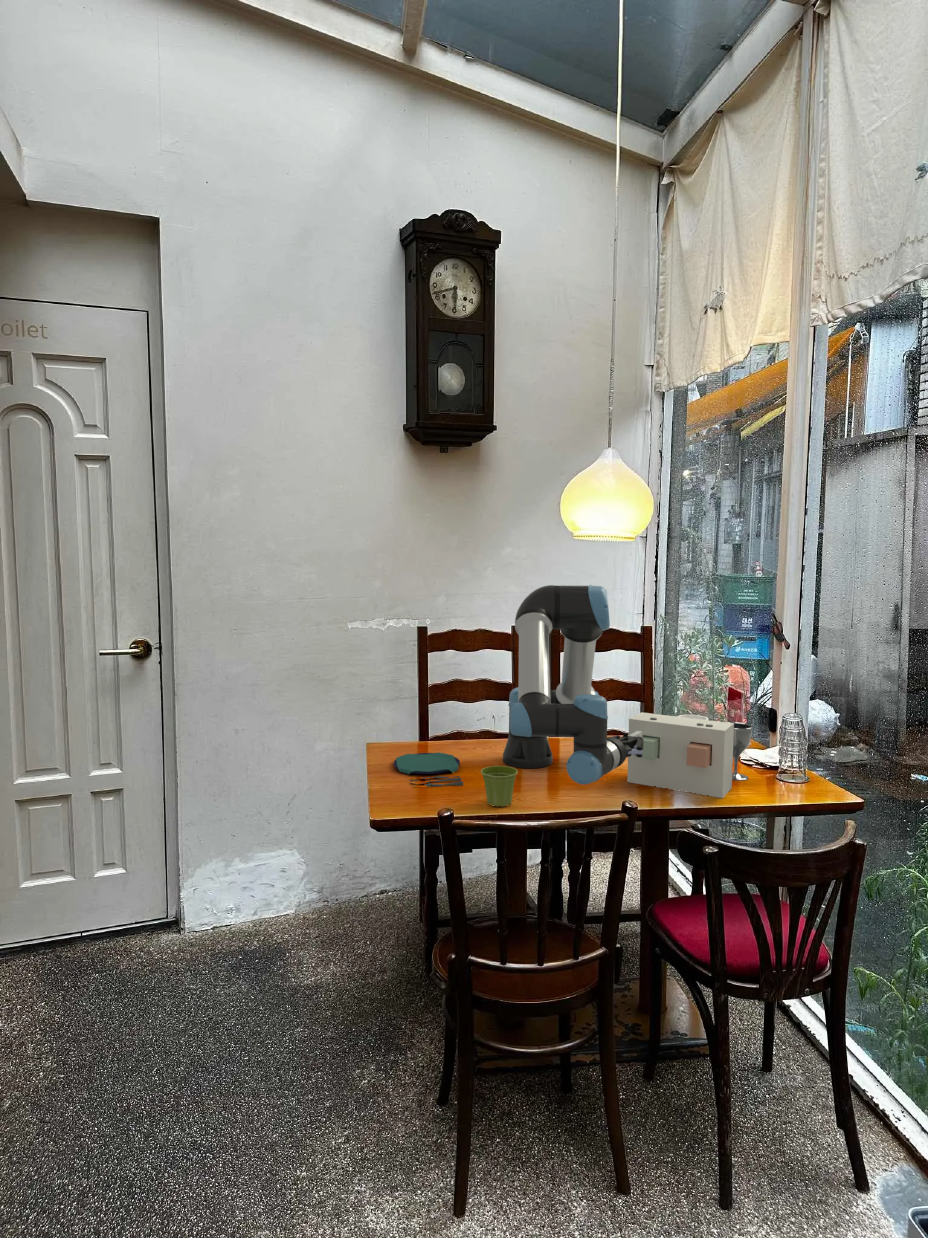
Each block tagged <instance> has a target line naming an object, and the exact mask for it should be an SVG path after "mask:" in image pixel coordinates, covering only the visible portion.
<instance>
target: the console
mask: <svg viewBox="0 0 928 1238" xmlns="http://www.w3.org/2000/svg"><path fill="white" fill-rule="evenodd" d="M636 731H642V735H645V736H653V737H660V754H659V756H658V757H657V758H655V759H654V760H649V759H643V758H636V757H635V756H634V754H632V755H631V756H630V757H627V779H626V781H627V783H629V784H630V783H631V784H637V785H643V786H649V787H654V786H656V788H660V787H661V789H665V788H669V789H668V790H671V789H675V790H674V791H677V790H680V791H679V792H683V791H687V792H686V793H689V792H692V793H691V794H695V793H696V794H697V795H701V794H702V796H707V795H709V796H708V797H712V798H718V799H723V798H724V797H725V796H726V795H727V794H728V793H729V792H730V791H731V790H732V789H733V788H732V785H733V780H732V773H733V765H734V764H733V763H734V758H733V737H734V723H728V722H726V721H725V722H724V721H717V720H716V721H715V720H701V719H693V718H684V717H677V716H674V715H665V714H660V713H659V714H658V713H649V712H642V711H641V712H638V713H637V714H635V715H633V716H632V717H630V718H628V735H630V734H632V733H634V732H636ZM693 742H697V743H704V744H712V763H711V764H710V765H709V766H708V767H707V768H702V767H695V766H689V765H687V746H689V745H690V744H691V743H693Z"/></svg>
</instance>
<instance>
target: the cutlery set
mask: <svg viewBox="0 0 928 1238" xmlns="http://www.w3.org/2000/svg"><path fill="white" fill-rule="evenodd" d="M460 764H461V762H460V759H459V758H458V757H456V756H455V755H454V754H450V753H446V752H444V753H443V752H419V753H418V752H417V753H405V754H403V755H399V756H398V757H395V760H394V761H393V767H394V768H395V769H397V770H398V771H399V772H400V773H401V772H403V773H402V774H405V773H406V774H405V775H410V774H415V775H416V774H417V775H431V774H432V775H433V774H441V773H445V772H451V773H452V774H454V773H453V772H455V771H456V772H457V771H458V770H459V766H460ZM456 772H455V773H456ZM449 777H450V776H442V775H438V776H436V775H435V776H434V777H433V776H431V777H422V778H423V779H425V778H442V779H436V780H433V781H431V780H429V779H428V780H426V781H429V782H434V783H429V782H427V783H428V784H424V783H425V782H421V784H424V785H426V786H427V787H429V786H433V787H439V786H440V787H443V786H442V785H455V786H464V782H463V781H462V778H461V776H460V775H455V776H453V777H460V778H449ZM413 781H418V780H410V782H413ZM442 782H448V783H442ZM414 784H415V783H413V784H412V785H414ZM429 788H430V787H429Z"/></svg>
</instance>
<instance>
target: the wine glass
mask: <svg viewBox="0 0 928 1238" xmlns="http://www.w3.org/2000/svg"><path fill="white" fill-rule="evenodd" d="M727 723H734V737H733V763H734V764H733V766H734V767H733V771H732V781H740V782H741V781H747V780H749V776H747V775H745V774H742V773H739V772H738V763H739V758H740V756H741V755H742V753H744V751H745V750H746V749H748V747H749V746H750V743H751V741H752V740H751V739H752V735H753V734H752V733H753V725H751V724H748V723H745V722H737V721H733V722H732V721H731V722H729V721H728V722H727Z"/></svg>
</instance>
